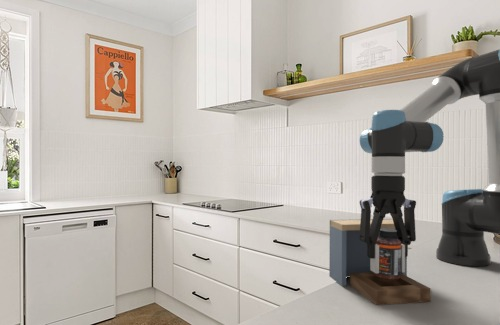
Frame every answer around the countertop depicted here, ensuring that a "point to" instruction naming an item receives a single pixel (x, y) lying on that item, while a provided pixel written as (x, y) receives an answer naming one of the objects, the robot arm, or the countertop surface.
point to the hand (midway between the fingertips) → (387, 271)
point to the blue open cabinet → (350, 249)
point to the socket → (389, 289)
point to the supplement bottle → (389, 255)
